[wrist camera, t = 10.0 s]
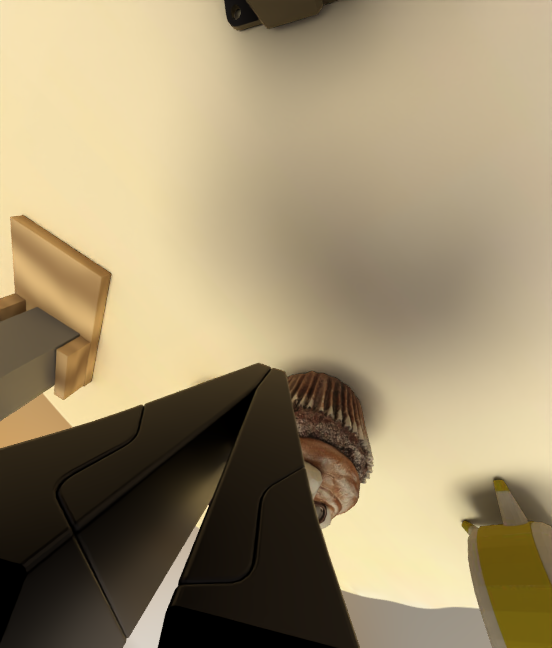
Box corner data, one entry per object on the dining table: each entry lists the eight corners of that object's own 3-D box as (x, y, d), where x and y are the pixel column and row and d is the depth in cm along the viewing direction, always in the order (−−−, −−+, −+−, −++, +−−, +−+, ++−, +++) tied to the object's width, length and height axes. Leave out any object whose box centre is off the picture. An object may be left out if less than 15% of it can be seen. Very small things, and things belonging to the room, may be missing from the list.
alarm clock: (581, 553, 23) (833, 1006, 11) (492, 557, 27) (602, 901, 14) (513, 465, 21) (728, 902, 8) (426, 482, 25) (486, 809, 12)
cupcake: (291, 448, 28) (258, 567, 19) (246, 375, 25) (182, 478, 16) (388, 439, 23) (399, 588, 15) (347, 349, 20) (331, 471, 12)
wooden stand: (23, 215, 24) (-93, 229, 18) (111, 273, 24) (26, 306, 18) (27, 339, 32) (-49, 376, 27) (91, 381, 33) (30, 426, 27)
